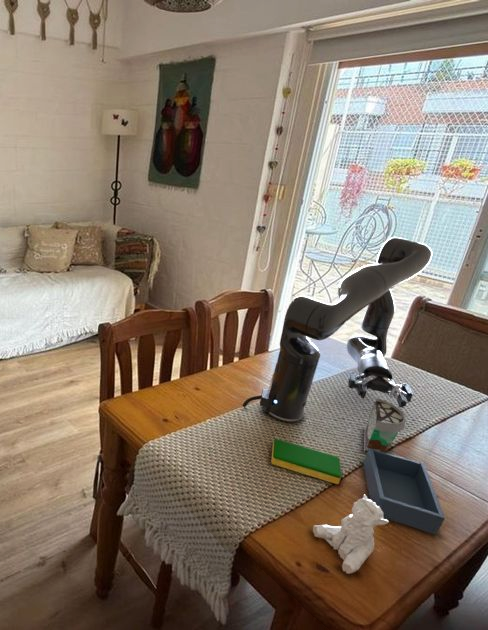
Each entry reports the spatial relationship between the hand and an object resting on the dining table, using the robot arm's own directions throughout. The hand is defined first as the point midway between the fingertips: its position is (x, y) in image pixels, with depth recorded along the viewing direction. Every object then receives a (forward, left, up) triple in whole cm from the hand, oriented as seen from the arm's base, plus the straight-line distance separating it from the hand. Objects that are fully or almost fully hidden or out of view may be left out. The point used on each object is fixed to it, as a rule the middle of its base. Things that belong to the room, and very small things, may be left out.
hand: (383, 399), depth 113 cm
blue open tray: (+1, -26, -8) cm, 28 cm away
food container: (0, -9, -8) cm, 12 cm away
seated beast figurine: (-10, -46, -8) cm, 48 cm away
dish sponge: (-17, -25, -8) cm, 32 cm away
